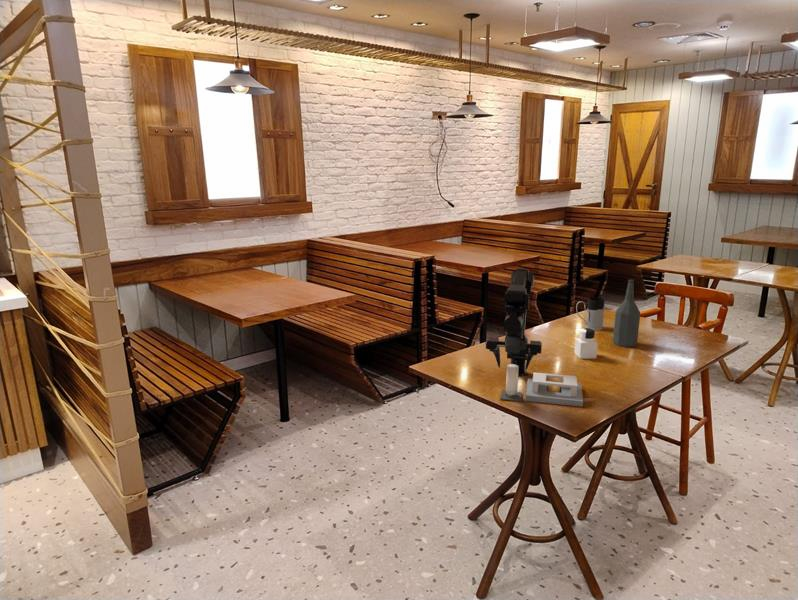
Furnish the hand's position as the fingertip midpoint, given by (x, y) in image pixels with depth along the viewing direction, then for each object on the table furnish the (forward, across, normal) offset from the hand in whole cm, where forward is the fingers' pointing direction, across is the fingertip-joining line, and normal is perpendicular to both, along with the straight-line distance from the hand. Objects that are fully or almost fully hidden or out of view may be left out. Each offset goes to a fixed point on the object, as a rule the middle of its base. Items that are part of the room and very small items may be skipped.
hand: (512, 368), depth 191 cm
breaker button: (+10, +14, +6) cm, 19 cm away
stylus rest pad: (+11, 0, 0) cm, 11 cm away
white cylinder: (+10, 0, 0) cm, 10 cm away
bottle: (+11, +46, +73) cm, 87 cm away
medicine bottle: (+11, +28, +51) cm, 59 cm away
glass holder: (+11, +31, +95) cm, 101 cm away
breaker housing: (+11, +14, +6) cm, 19 cm away
